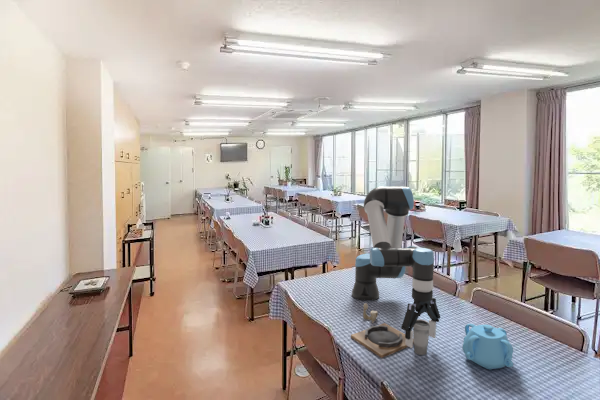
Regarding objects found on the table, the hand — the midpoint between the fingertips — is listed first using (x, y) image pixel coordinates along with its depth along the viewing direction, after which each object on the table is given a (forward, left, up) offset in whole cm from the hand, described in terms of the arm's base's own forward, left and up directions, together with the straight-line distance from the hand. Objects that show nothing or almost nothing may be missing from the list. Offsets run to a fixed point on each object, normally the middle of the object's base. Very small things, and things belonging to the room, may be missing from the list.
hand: (420, 341), depth 129 cm
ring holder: (+6, -14, -4) cm, 16 cm away
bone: (-3, -30, -5) cm, 31 cm away
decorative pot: (-16, +17, -5) cm, 24 cm away
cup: (0, 0, -5) cm, 5 cm away
